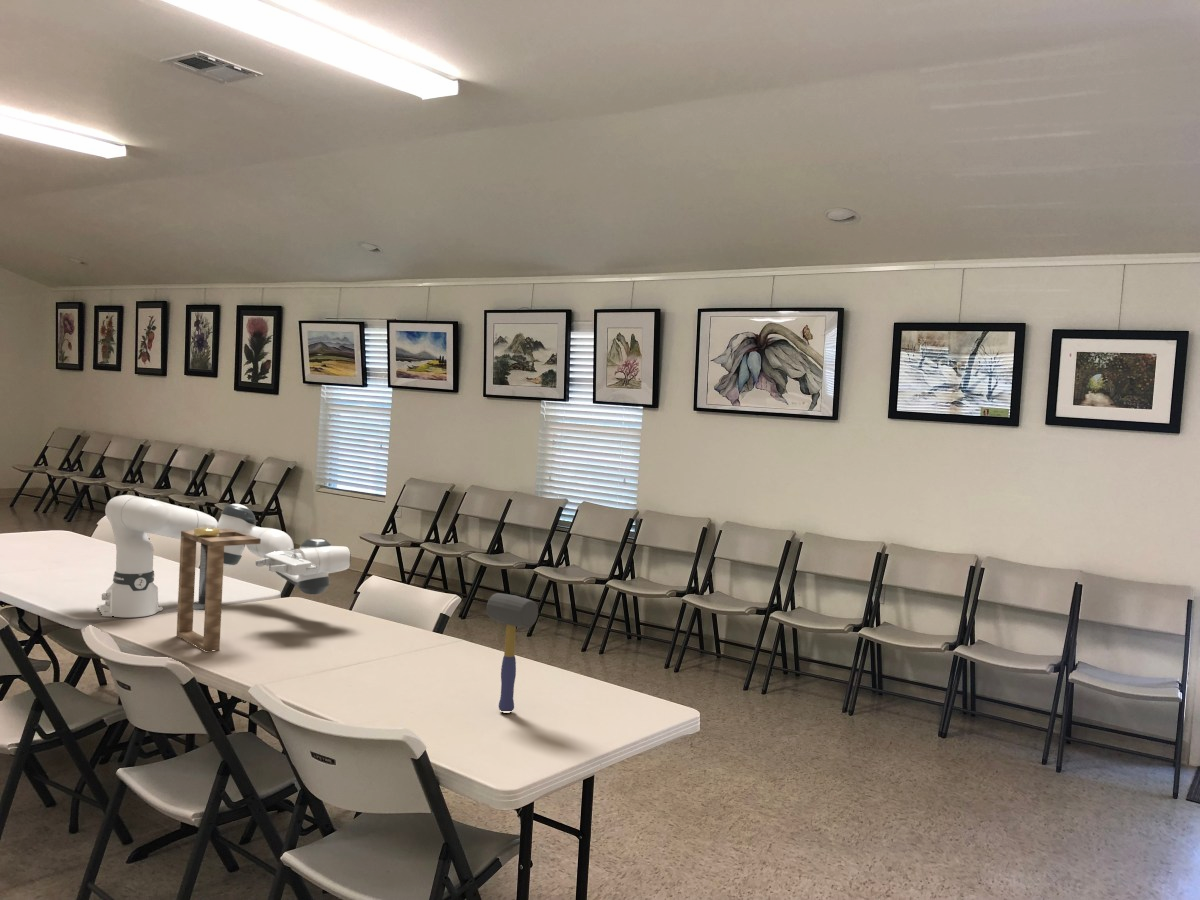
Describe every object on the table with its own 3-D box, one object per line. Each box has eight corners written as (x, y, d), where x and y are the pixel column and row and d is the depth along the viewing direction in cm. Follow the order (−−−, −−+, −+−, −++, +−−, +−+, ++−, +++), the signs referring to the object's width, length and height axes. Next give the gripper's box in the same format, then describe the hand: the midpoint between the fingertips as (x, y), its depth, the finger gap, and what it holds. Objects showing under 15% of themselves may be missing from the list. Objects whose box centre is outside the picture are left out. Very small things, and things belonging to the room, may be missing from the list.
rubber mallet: (477, 710, 239) (484, 593, 238) (497, 703, 245) (504, 589, 244) (514, 722, 232) (521, 601, 230) (534, 715, 238) (541, 597, 236)
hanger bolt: (187, 606, 284) (190, 527, 283) (210, 604, 289) (213, 526, 288) (196, 611, 279) (200, 531, 278) (219, 609, 284) (223, 530, 283)
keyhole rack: (224, 629, 300) (229, 528, 299) (255, 645, 285) (260, 538, 283) (176, 635, 290) (181, 531, 288) (205, 652, 274) (210, 541, 273)
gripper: (320, 577, 297) (278, 582, 287) (289, 566, 311) (248, 570, 302) (320, 557, 297) (279, 561, 287) (290, 547, 311) (249, 550, 301)
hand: (263, 566), depth 294 cm, fingers open, 8 cm apart
